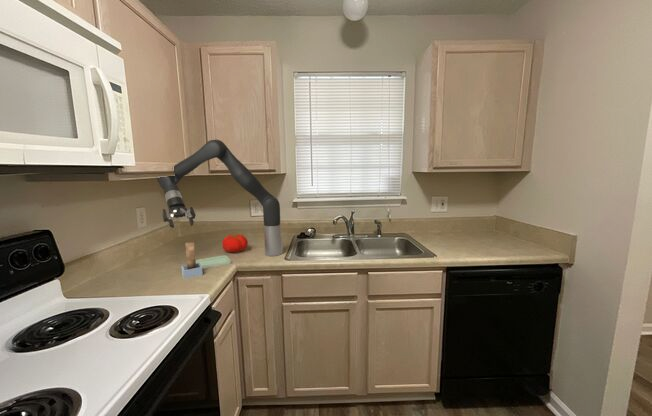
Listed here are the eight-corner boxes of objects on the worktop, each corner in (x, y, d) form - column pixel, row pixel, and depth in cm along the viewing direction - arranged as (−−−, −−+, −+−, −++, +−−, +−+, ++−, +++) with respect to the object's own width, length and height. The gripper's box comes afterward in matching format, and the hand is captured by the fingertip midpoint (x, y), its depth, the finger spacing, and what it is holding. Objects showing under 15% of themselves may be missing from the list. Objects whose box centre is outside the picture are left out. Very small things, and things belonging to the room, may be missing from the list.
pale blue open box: (200, 271, 132) (199, 262, 132) (202, 276, 126) (202, 267, 125) (182, 275, 128) (181, 265, 127) (184, 280, 122) (183, 270, 121)
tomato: (243, 246, 176) (242, 231, 175) (251, 252, 162) (250, 236, 161) (219, 250, 168) (218, 234, 167) (226, 256, 155) (224, 239, 154)
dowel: (196, 272, 129) (193, 241, 127) (197, 274, 126) (194, 243, 124) (187, 273, 127) (184, 242, 125) (188, 276, 124) (185, 244, 122)
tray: (226, 258, 151) (225, 254, 151) (231, 264, 141) (231, 260, 141) (194, 264, 143) (194, 260, 142) (197, 271, 133) (197, 267, 132)
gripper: (159, 197, 134) (167, 223, 127) (190, 195, 143) (199, 219, 137) (158, 206, 139) (165, 232, 132) (188, 204, 148) (196, 228, 141)
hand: (182, 225), depth 134 cm, fingers open, 8 cm apart
